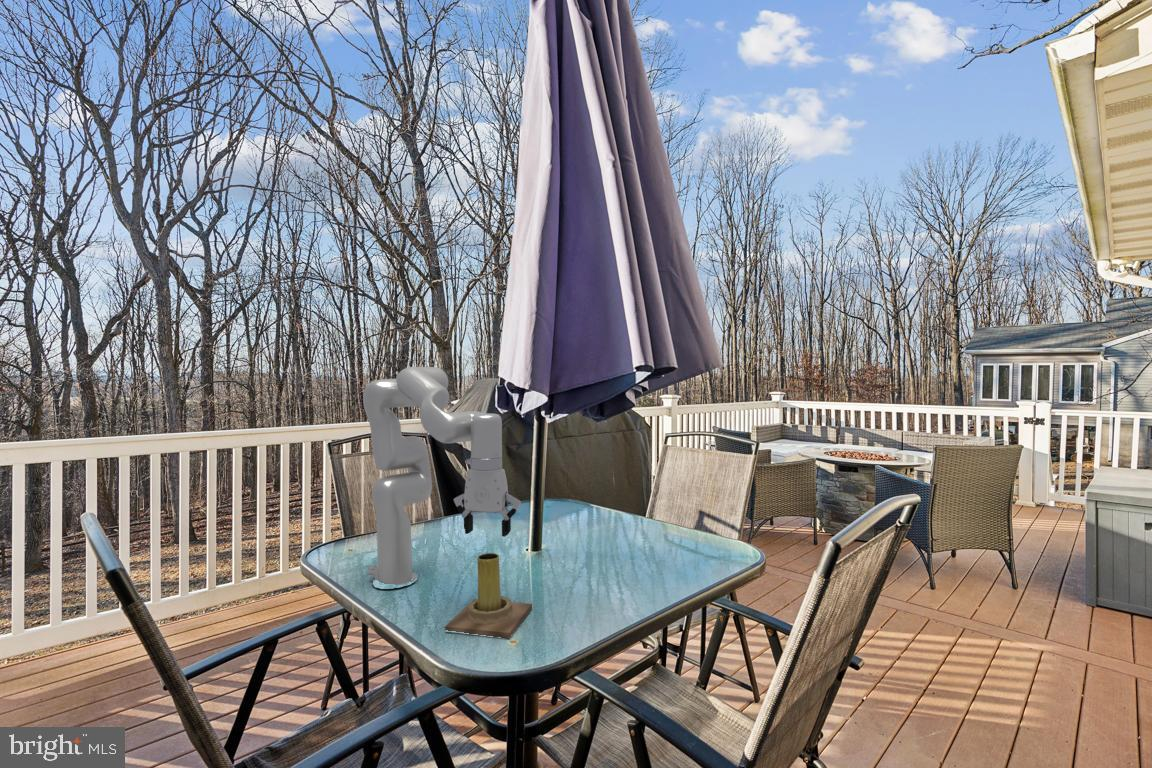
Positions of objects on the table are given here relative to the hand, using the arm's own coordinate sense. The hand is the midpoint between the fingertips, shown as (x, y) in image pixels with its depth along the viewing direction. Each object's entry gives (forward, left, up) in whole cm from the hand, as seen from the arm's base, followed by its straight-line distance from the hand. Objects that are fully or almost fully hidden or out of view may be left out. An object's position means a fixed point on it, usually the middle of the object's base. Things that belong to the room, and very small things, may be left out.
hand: (487, 533), depth 131 cm
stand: (0, 0, -21) cm, 21 cm away
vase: (0, 0, -20) cm, 20 cm away
